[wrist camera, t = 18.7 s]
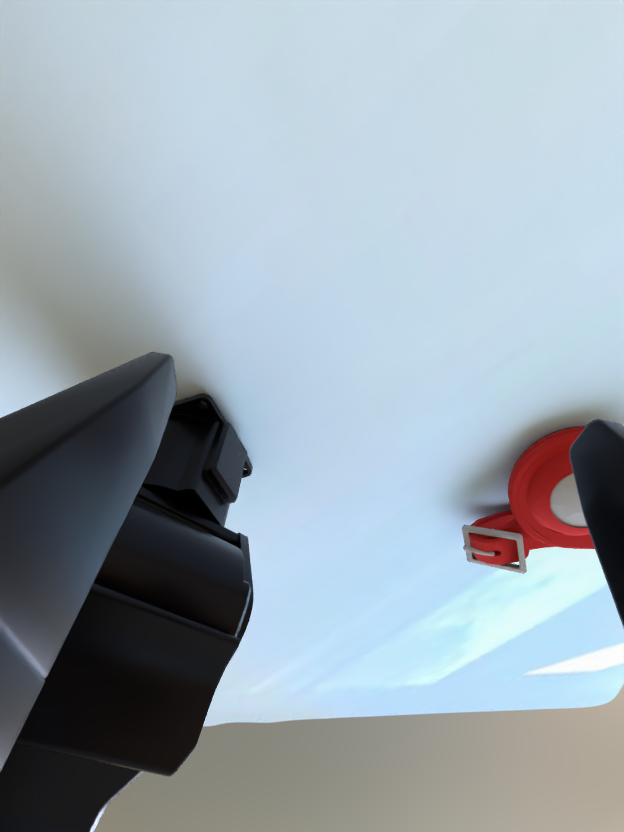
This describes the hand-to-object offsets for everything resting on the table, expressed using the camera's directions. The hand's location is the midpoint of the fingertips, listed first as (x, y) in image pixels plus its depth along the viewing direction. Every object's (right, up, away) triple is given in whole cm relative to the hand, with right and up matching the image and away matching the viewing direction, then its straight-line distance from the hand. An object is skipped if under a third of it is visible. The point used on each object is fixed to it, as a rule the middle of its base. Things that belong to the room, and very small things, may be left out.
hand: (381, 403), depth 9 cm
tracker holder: (+14, -5, +19) cm, 24 cm away
